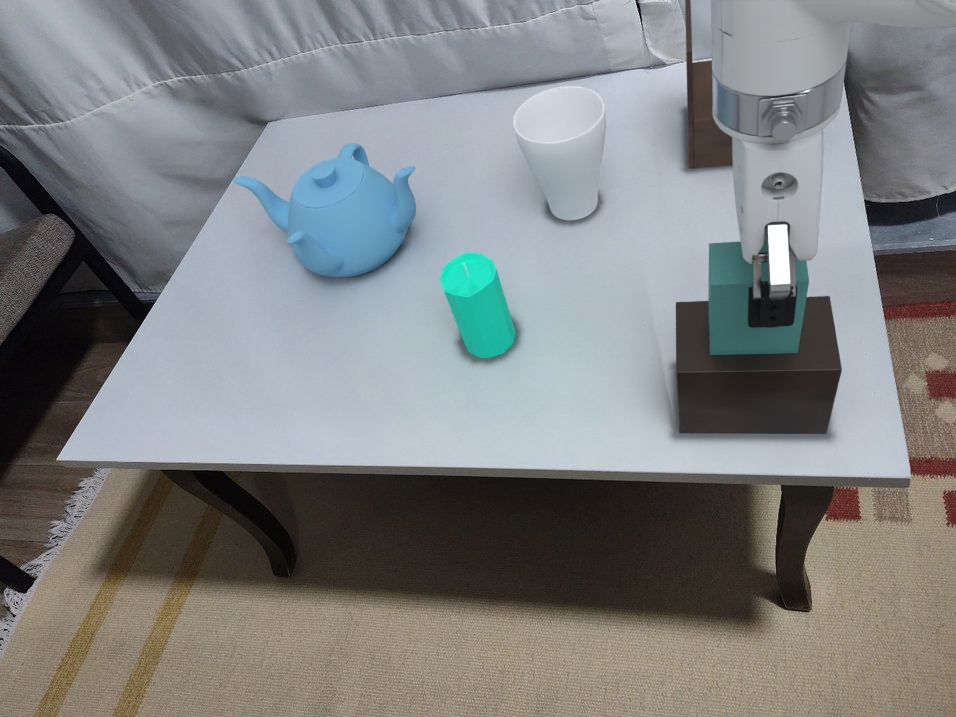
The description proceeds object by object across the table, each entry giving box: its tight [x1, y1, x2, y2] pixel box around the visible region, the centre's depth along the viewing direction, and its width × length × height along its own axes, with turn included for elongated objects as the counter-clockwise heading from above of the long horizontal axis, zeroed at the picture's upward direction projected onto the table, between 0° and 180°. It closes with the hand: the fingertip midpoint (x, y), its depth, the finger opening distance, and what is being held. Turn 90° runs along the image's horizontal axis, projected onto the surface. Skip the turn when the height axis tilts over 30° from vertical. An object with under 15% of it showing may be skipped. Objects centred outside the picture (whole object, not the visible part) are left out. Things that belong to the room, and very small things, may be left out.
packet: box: [707, 240, 810, 355], centre depth 62 cm, size 7×4×9 cm, turn 81°
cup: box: [512, 85, 607, 221], centre depth 90 cm, size 10×10×14 cm
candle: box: [439, 251, 517, 359], centre depth 80 cm, size 6×6×12 cm
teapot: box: [233, 142, 417, 278], centre depth 96 cm, size 17×19×12 cm
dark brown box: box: [675, 295, 843, 435], centre depth 69 cm, size 13×8×10 cm, turn 81°
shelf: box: [684, 0, 733, 169], centre depth 90 cm, size 13×12×16 cm
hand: (765, 276), depth 59 cm, fingers open, 9 cm apart
